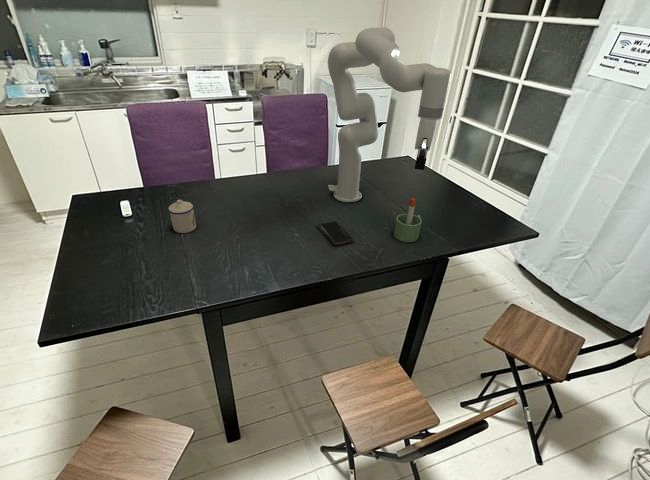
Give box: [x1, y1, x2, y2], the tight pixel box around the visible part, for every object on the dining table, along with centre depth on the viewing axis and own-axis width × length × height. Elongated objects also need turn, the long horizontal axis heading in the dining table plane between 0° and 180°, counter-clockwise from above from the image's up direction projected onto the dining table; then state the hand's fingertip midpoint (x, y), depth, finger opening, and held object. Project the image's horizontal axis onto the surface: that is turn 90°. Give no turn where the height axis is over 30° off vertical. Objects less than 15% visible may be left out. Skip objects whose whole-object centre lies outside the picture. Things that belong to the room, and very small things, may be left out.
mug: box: [393, 213, 423, 243], centre depth 143 cm, size 12×9×7 cm
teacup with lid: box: [168, 199, 197, 234], centre depth 145 cm, size 12×9×12 cm
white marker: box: [406, 197, 417, 225], centre depth 139 cm, size 2×2×14 cm
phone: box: [318, 220, 353, 247], centre depth 144 cm, size 8×1×15 cm
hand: (420, 164), depth 130 cm, fingers open, 9 cm apart
